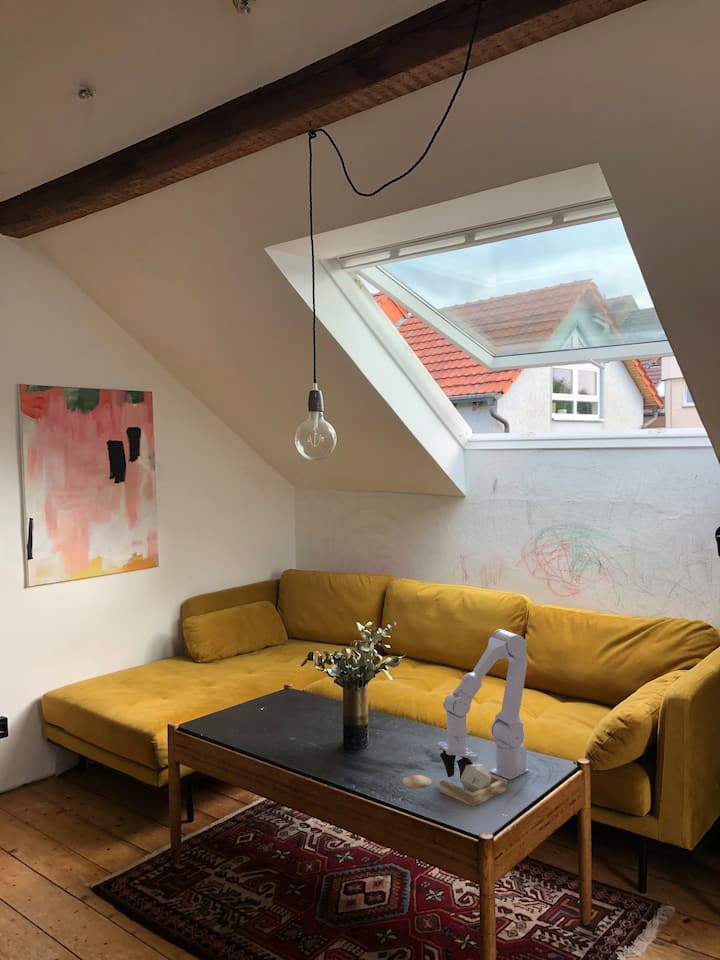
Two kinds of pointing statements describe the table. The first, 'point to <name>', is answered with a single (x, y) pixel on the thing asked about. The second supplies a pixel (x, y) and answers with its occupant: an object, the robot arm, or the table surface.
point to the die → (475, 777)
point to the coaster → (417, 781)
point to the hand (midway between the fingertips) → (457, 778)
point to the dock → (478, 796)
